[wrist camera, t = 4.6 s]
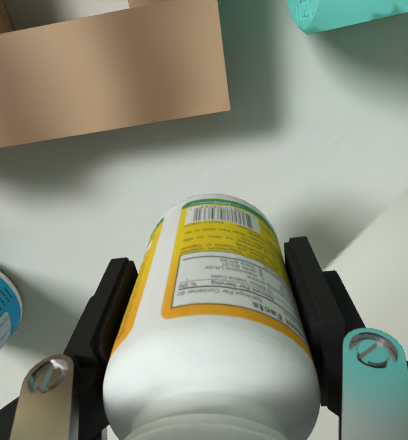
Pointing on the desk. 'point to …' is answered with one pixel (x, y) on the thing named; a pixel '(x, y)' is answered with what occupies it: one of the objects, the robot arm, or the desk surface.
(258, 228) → the supplement bottle
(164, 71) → the socket block
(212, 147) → the desk surface
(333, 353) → the robot arm
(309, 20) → the decorative dice
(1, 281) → the beverage bottle
